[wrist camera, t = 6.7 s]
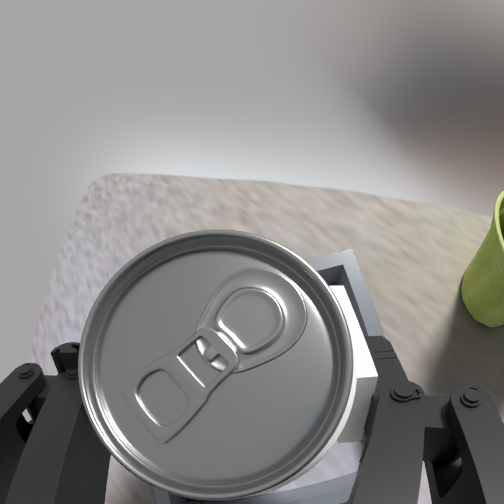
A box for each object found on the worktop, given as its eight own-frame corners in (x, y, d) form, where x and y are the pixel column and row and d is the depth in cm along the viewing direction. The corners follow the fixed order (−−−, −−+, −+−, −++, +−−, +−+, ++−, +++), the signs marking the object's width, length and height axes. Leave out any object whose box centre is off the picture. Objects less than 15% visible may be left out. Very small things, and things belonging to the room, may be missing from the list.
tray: (344, 268, 23) (351, 248, 21) (404, 466, 15) (420, 472, 13) (144, 313, 23) (127, 299, 20) (177, 514, 15) (162, 526, 12)
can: (342, 391, 15) (439, 341, 5) (258, 472, 13) (196, 570, 3) (259, 318, 18) (215, 171, 8) (180, 392, 16) (28, 338, 6)
